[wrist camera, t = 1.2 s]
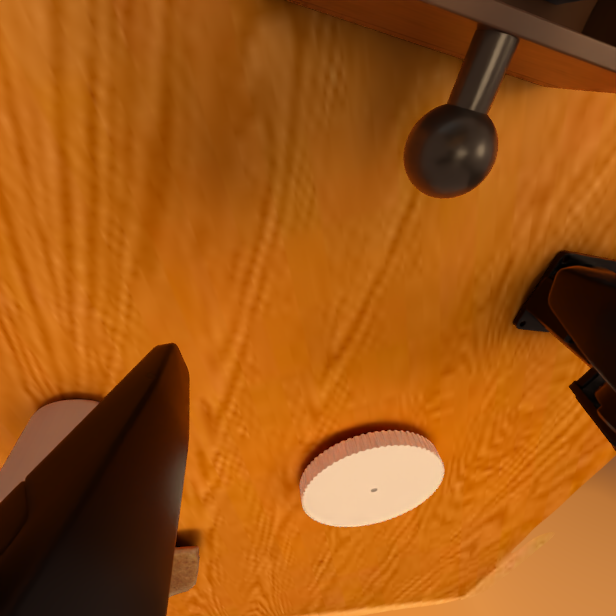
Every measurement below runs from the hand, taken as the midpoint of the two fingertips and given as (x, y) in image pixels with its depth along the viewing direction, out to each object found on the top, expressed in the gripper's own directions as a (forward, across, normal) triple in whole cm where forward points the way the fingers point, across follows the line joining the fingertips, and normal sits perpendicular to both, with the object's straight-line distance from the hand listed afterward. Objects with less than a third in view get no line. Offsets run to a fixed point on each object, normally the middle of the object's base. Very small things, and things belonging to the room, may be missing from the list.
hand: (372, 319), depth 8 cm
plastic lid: (+14, -3, +29) cm, 33 cm away
